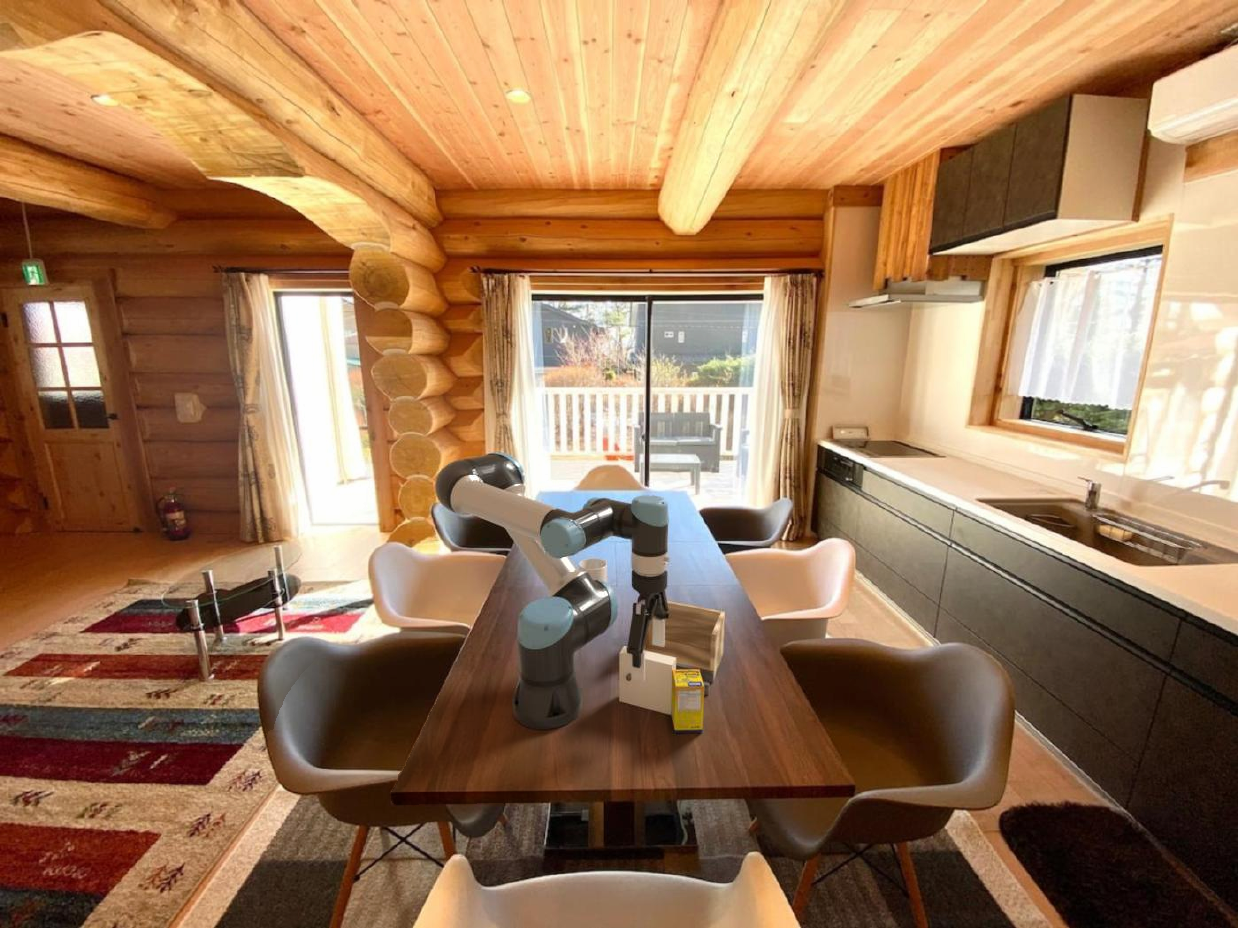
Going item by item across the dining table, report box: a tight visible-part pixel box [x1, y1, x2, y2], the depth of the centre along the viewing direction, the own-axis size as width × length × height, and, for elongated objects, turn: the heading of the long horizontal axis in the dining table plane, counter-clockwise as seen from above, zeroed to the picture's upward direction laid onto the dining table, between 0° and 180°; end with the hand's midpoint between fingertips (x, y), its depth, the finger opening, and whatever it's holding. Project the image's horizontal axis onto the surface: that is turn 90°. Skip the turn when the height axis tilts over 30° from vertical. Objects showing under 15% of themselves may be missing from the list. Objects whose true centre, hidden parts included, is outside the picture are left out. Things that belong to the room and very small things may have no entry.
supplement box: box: [670, 669, 705, 734], centre depth 108 cm, size 6×6×11 cm
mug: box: [578, 557, 608, 583], centre depth 166 cm, size 12×9×11 cm
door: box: [618, 645, 676, 716], centre depth 113 cm, size 4×12×12 cm, turn 68°
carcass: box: [643, 600, 727, 696], centre depth 128 cm, size 18×20×12 cm
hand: (648, 661), depth 113 cm, fingers open, 13 cm apart
